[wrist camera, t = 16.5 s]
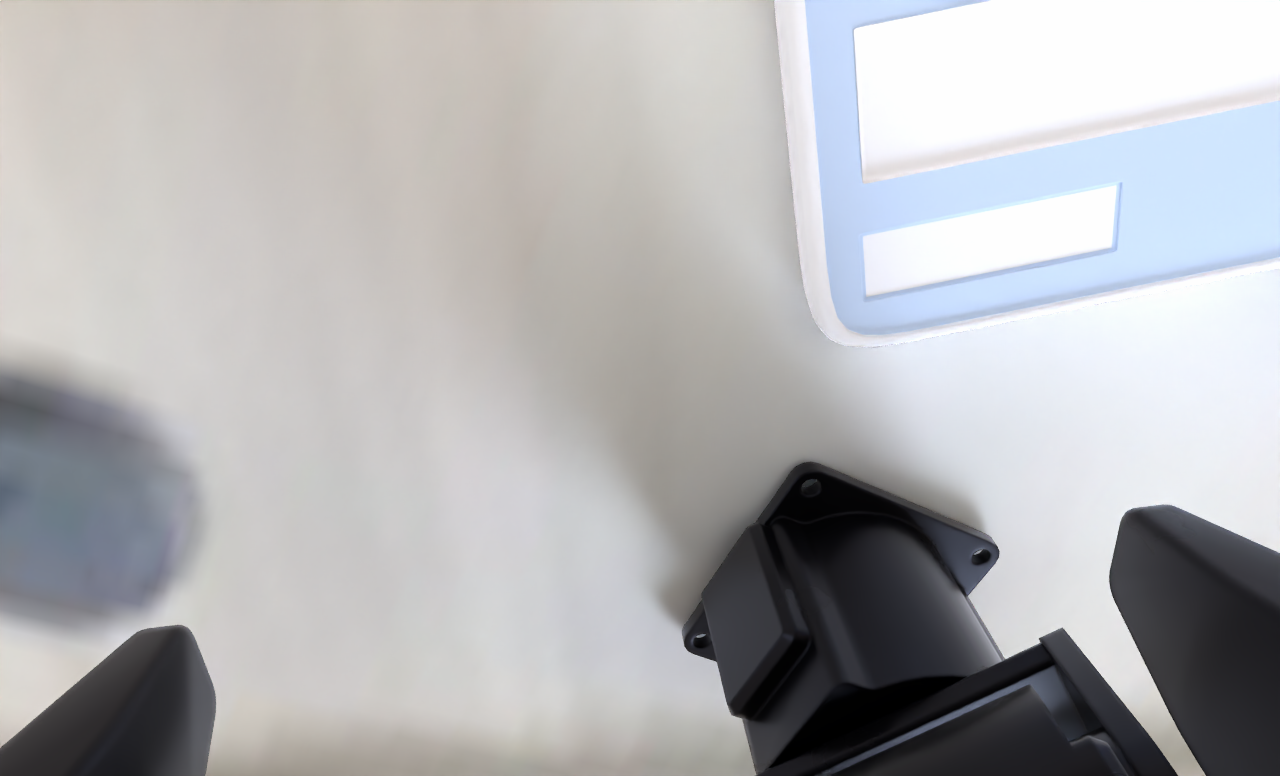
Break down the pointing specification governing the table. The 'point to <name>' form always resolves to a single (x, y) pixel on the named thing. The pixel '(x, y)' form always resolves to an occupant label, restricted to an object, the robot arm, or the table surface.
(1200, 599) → the robot arm
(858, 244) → the calculator
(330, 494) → the table surface
